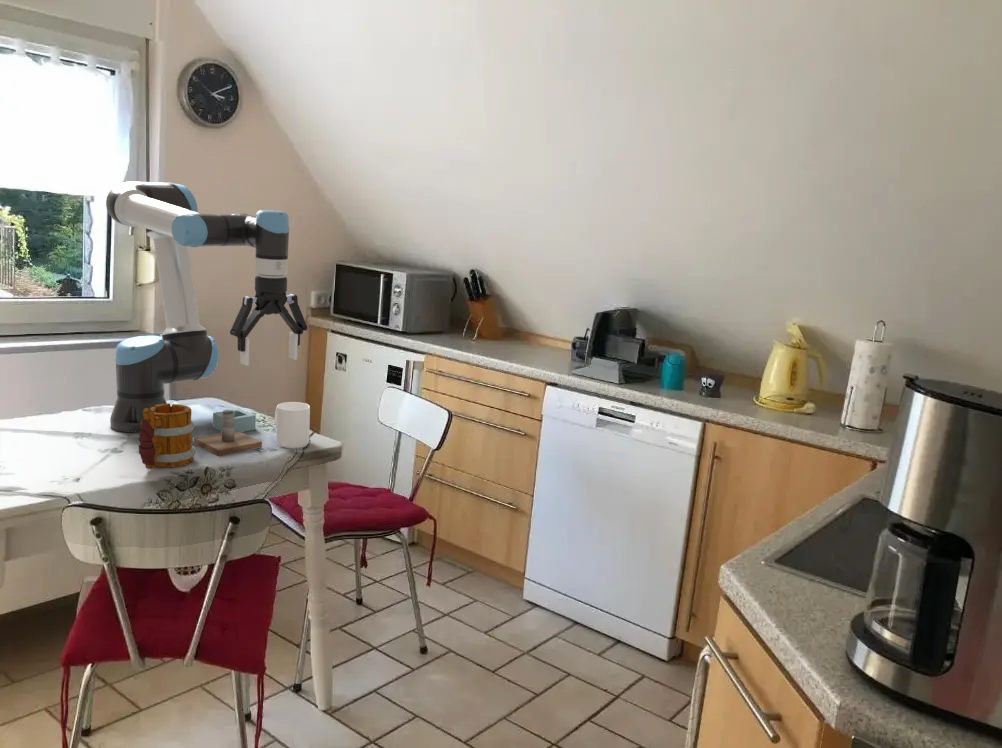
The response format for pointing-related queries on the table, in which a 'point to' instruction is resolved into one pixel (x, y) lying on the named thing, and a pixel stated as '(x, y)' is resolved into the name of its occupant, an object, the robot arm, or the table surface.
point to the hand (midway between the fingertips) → (269, 361)
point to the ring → (237, 420)
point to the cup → (292, 424)
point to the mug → (166, 436)
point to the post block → (227, 438)
